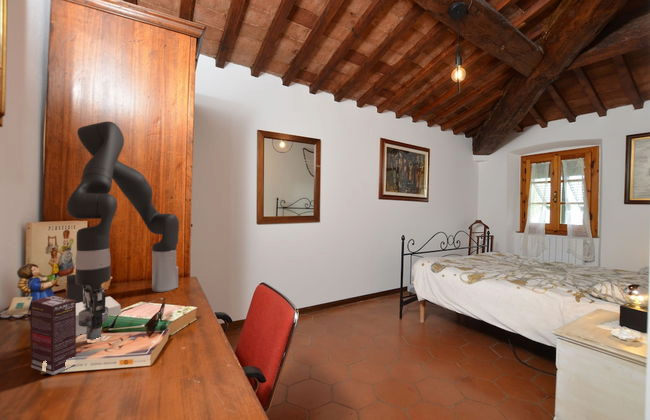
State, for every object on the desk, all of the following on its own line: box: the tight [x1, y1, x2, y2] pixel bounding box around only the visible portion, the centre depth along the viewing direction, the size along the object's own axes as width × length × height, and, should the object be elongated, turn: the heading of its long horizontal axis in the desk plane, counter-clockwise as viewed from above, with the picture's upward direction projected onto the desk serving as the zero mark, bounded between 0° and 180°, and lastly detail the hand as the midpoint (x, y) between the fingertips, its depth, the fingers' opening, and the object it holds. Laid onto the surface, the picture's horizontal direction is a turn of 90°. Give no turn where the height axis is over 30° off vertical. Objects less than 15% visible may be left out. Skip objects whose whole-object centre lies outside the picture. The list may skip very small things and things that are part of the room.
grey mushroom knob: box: [79, 307, 108, 339], centre depth 78 cm, size 6×6×8 cm
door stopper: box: [66, 274, 83, 303], centre depth 102 cm, size 9×6×12 cm, turn 45°
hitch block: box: [76, 296, 122, 337], centre depth 88 cm, size 12×12×6 cm
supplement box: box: [30, 295, 77, 376], centre depth 66 cm, size 9×5×16 cm, turn 71°
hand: (93, 324), depth 78 cm, fingers closed on grey mushroom knob, 6 cm apart
